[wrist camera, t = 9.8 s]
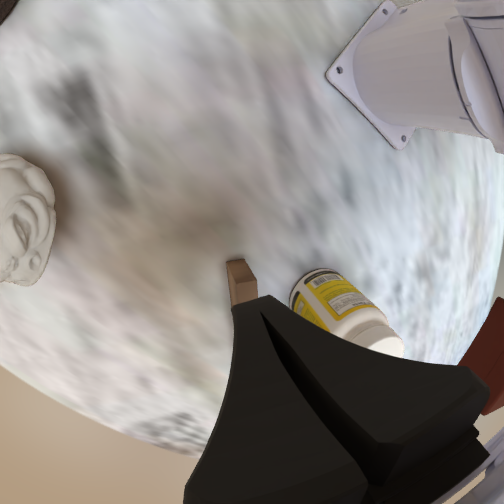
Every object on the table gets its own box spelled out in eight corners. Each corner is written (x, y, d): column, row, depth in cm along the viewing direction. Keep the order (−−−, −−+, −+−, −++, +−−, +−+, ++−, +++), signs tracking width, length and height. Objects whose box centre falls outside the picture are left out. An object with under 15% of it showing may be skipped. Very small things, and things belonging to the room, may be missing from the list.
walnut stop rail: (244, 258, 20) (256, 279, 18) (255, 383, 25) (265, 408, 22) (226, 262, 20) (236, 283, 17) (242, 386, 25) (251, 411, 22)
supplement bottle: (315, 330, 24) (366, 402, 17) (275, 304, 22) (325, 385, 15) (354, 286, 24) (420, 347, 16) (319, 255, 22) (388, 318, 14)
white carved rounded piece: (42, 268, 17) (2, 330, 11) (-22, 195, 13) (-84, 230, 7) (99, 205, 16) (65, 249, 10) (30, 124, 13) (-34, 128, 7)
